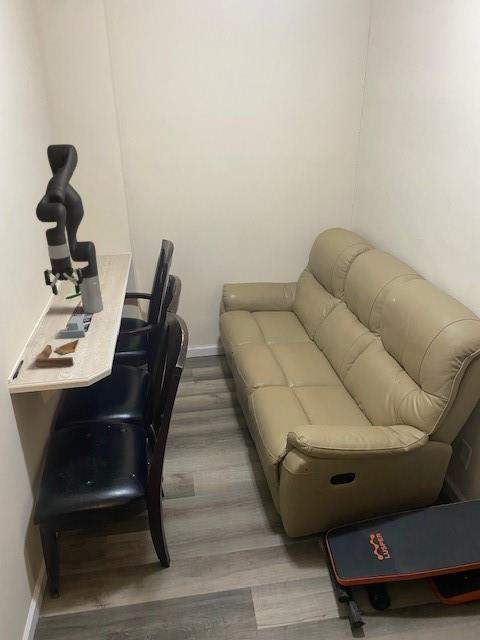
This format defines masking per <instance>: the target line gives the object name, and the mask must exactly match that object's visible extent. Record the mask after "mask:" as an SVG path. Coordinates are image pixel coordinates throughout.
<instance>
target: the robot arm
mask: <svg viewBox="0 0 480 640" xmlns="http://www.w3.org/2000/svg"><path fill="white" fill-rule="evenodd" d="M46 155H47V161H48V164H49V167H50V170H51V174H52V177H51V178H50V179H49V180H48V183H47V186H46V190H45V193H44V195H43V196H42V198H41V199H40V200H39V201H38V203H37V206H36V208H35V216H36V218H37V220H38V221H40V222H42V223H56V225H55V226H54V227H51V228H48V229H46V230H45V238H46V242H47V243H46V244H47V250H48V256H49V261H50V266H51V267H50V268H51V269H48V268H47V269H45V270H44V272H43V274H44V283H45V286H50V287H51V292H52V294H53V295H54V296H58V294H59V292H58V288H57V284H56V283H57V282H58V281H59V282H60V281H61V282H62V281H69V282H71V283H73V285H74V289H75V295H79V294H80V298H81V303H82V304H81V305H82V310H83V312H84V313H86V314H95V313H99V312H102V311H103V310H104V303H103V297H102V291H101V284H100V279H99V271H98V269H99V268H98V263H97V262H98V261H97V251H96V246H95V243H94V242H93V241H88V240H87V241H85V240H84V241H78V240H77V239H78V237H77V233H78V230H79V226H80V225H81V223H82V221H83V219H84V216H85V209H84V205H83V201H82V197H81V195H80V193H79V192H78V191H77V190H76V189H75V188H74V187H73V185H71V184H70V181H71V179H72V177H73V175H74V173H75V171H76V167H77V166H78V161H79V159H78V157H79V156H78V151H77V149H76V147H75V146H74V145H73V144H68V143H66V144H63V143H62V144H61V143H60V144H49V145H48V146H47V148H46ZM72 261H73V262H74V263H87V265H85V266H83V267H82V268H80V267H78V268H73V265H72ZM74 273H75V275H76V276H75V275H74ZM51 275H53V277H54V278H53V280H52V281H51ZM76 277H77V278H76Z"/></svg>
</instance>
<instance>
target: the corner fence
mask: <svg viewBox="0 0 480 640" xmlns="http://www.w3.org/2000/svg"><path fill="white" fill-rule="evenodd" d="M52 353H53V348H52V345H51V344H47V345H45V347H44V348H43V350H42V351H41V352H40V353H39V355H38V356H37V358H36V359H35V365H36V366H35V367H36V368H37V369H45V368H61V367H63V368H64V367H73V366H74V365H75V364H74V357H73V356H67V357H66V356H65V357H50V356H51V354H52Z"/></svg>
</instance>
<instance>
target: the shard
mask: <svg viewBox="0 0 480 640" xmlns="http://www.w3.org/2000/svg"><path fill="white" fill-rule="evenodd" d="M79 341H80V339H79V338H77V339H75V340H74V341H70V342H68V343H65V344H62V345H59V346H58V347H56V348H55V352H57V353H60V354H61V355H66V354H72V353H75V352H76V349H77V347H78V346H79Z"/></svg>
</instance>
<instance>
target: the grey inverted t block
mask: <svg viewBox="0 0 480 640" xmlns="http://www.w3.org/2000/svg"><path fill="white" fill-rule="evenodd" d="M67 328H68V330H67V329H66V330H64V329H63V330H61V336H62V339H76V338H77V339H79V338H80V339H81V338H86V332H85V326H84V320H83V316H82V315H74V316H72V317H71V318H70V319H69V320H68V322H67Z"/></svg>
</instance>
